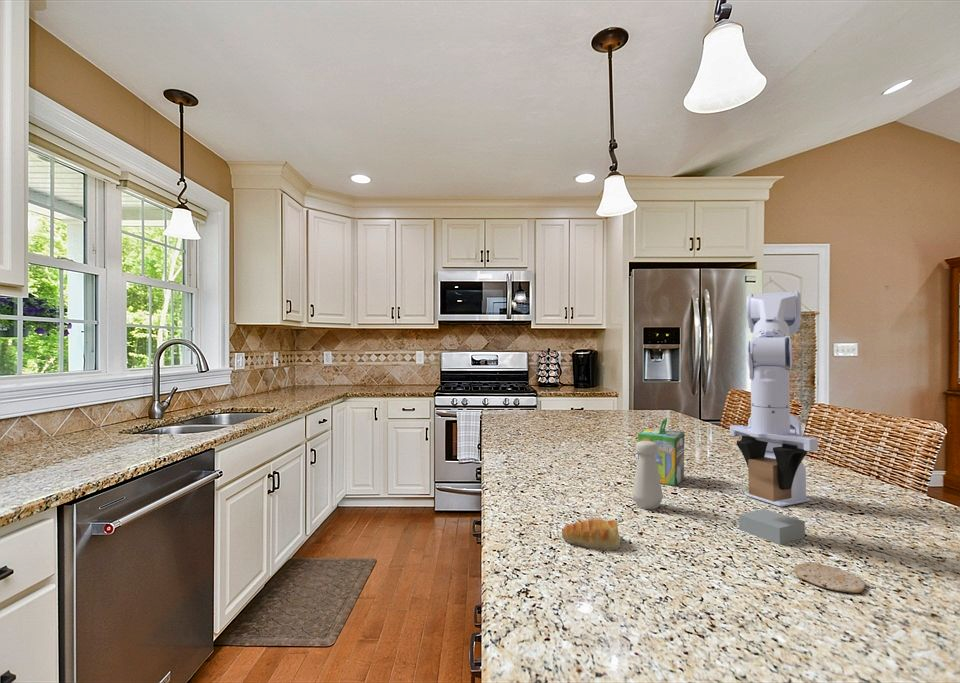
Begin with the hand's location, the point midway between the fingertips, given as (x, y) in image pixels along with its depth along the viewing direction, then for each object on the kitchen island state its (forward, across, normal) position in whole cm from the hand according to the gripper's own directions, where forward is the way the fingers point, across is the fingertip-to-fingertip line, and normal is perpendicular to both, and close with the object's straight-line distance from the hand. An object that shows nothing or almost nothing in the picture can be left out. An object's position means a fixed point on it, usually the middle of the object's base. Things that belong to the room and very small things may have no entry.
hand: (770, 484), depth 80 cm
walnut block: (+2, 0, 0) cm, 2 cm away
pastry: (+9, -9, -30) cm, 33 cm away
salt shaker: (+9, -19, -10) cm, 23 cm away
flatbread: (+9, +14, -8) cm, 18 cm away
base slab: (+9, 0, 0) cm, 9 cm away
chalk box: (+9, -33, +7) cm, 35 cm away
